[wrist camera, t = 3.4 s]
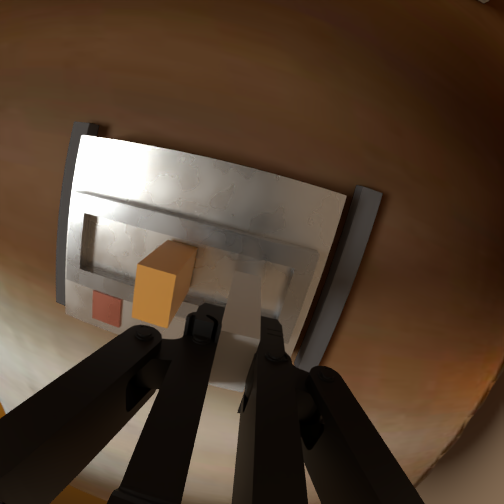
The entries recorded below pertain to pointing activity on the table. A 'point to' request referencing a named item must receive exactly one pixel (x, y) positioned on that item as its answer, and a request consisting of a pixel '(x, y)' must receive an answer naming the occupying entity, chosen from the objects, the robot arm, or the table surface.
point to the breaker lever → (163, 282)
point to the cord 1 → (68, 202)
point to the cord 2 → (339, 276)
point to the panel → (192, 233)
